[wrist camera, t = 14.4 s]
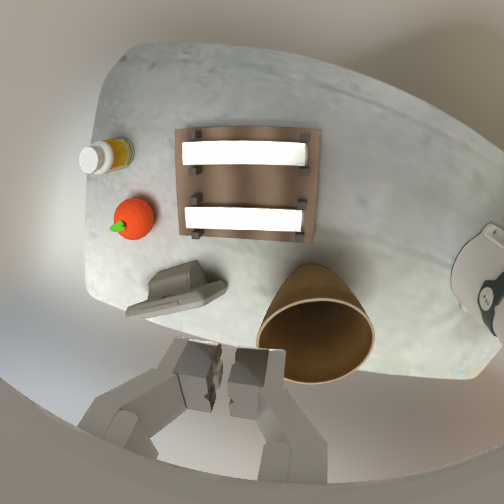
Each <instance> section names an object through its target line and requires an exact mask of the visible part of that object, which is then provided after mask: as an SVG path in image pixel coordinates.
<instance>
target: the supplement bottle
mask: <svg viewBox="0 0 504 504" xmlns="http://www.w3.org/2000/svg"><path fill="white" fill-rule="evenodd" d="M133 156H134V149H133V146H132V144H131V143H130V142H129V141H128V140H126V139H111V140H102V141H97V142H95V143H93V144H92V145H91V146H89V147H86V148H84V149H83V150H82V151H81V153H80V156H79V165H80V167H81V169H82V170H83V171H84V172H85V173H94V174H98V175H101V174H105V173H109V172H112V171H116V170H120V169H123V168H126V167H127V166H129V164H130V163H131V162H132V159H133Z"/></svg>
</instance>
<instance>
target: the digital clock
mask: <svg viewBox="0 0 504 504" xmlns="http://www.w3.org/2000/svg"><path fill="white" fill-rule="evenodd" d="M148 287H149V295H148V300H146V301H143V302H140V303H137V304H135V305H132V306H129V307H128V308H127V310H126V317H127V318H129V319H130V320H131V321H135V320H141V319H146V318H151V317H156V316H161V315H166V314H171V313H176V312H180V311H185V310H190V309H194V308H199V307H202V306H204V305H206V304H208V303H210V302H211V301H213V300H215V299H216V298H218V297H220V296H221V295H223V294H225V292H226V290H227V285H226V283H225V282H223V281H222V280H218V281H214V282H210V283H208V281H207V279H206V277H205V275H204V273H203V271H202V269H201V267H200V265H199V262H198V261H197V260H196V261H193V262H190V263H186V264H183V265H180V266H176V267H173V268H170V269H167V270H163V271H160V272H158V273H157V274H156V275H155V276H154V277H153V278H152V279H151V280H150V282H149V284H148Z"/></svg>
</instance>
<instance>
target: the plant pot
mask: <svg viewBox="0 0 504 504" xmlns="http://www.w3.org/2000/svg"><path fill="white" fill-rule="evenodd" d="M374 341H375V332H374V328H373V325H372V323H371V321H370V319H369V317H368V316H367V314H366V312H365V311H364V309H363V307H362V306H361V304H360V303H359V301H358V300H357V298H356V297H355V295H354V294H353V293H352V292H351V290H350V289H349V288H348V287H347V286H346V284H345V283H344V282H343V281H342V280H341V279H340V278H338V277H337V276H336V275H335V274H334V273H332V272H331V271H330V270H328V269H327V268H325V267H323V266H321V265H317V264H307V265H304V266H301V267H299V268H298V269H297V270H296V271H294V272H293V273H292V274H291V275H290V276H289V277H288V279H287V280H286V281H285V282H284V284H283V285H282V286H281V288H280V289H279V291H278V292H277V294H276V296H275V297H274V299H273V301H272V303H271V305H270V306H269V308H268V310H267V313H266V315H265V317H264V319H263V322H262V324H261V327H260V329H259V332H258V335H257V339H256V348H266V349H269V350H270V349H281V350H285V351H286V356H285V369H284V379H285V380H288V381H291V382H295V383H300V384H322V383H327V382H332V381H335V380H338V379H341V378H343V377H345V376H347V375H349V374H350V373H352V372H354V371H355V370H356V369H358V368H359V367H360V366H361V365H362V364H363V363H364V362H365V361H366V359H367V358H368V357H369V355H370V353H371V351H372V349H373V345H374Z"/></svg>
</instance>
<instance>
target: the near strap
mask: <svg viewBox="0 0 504 504" xmlns="http://www.w3.org/2000/svg"><path fill="white" fill-rule="evenodd" d="M182 144H183V165H187V164H271V165H294V166H307V164H308V143H293V142H270V141H209V142H186V143H182Z"/></svg>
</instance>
